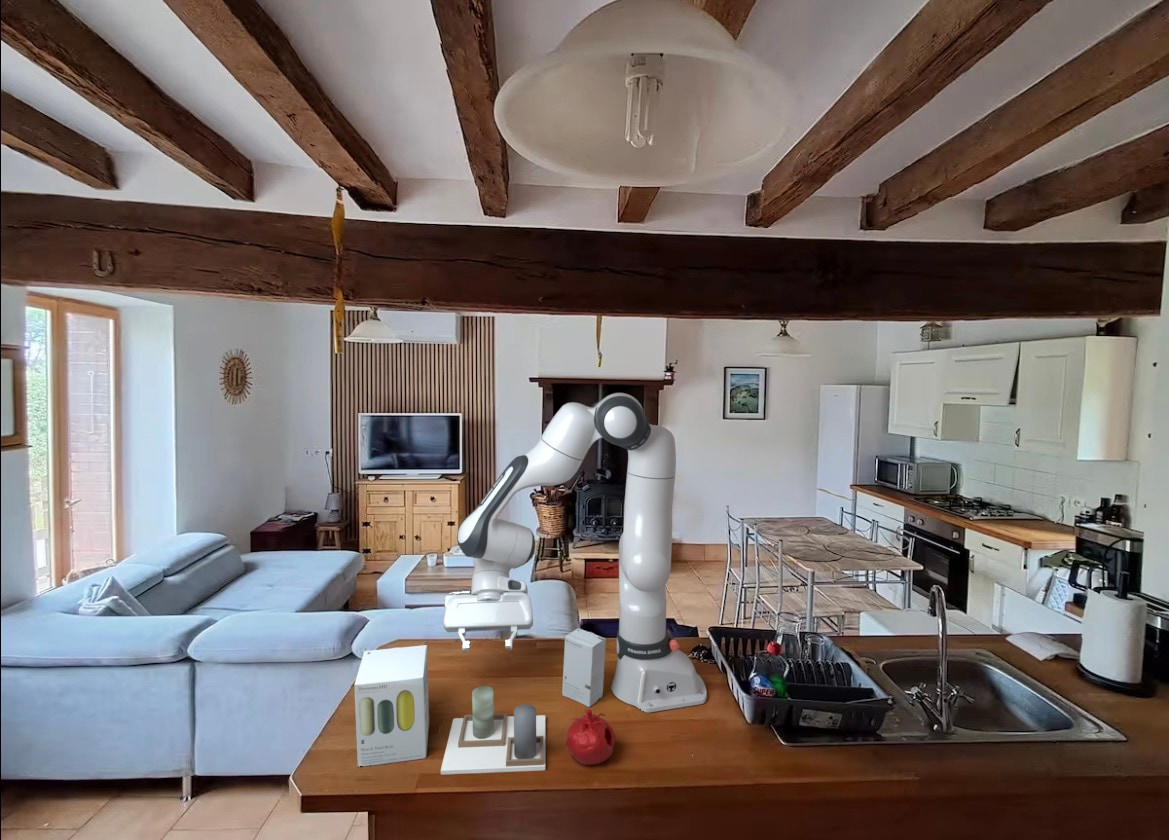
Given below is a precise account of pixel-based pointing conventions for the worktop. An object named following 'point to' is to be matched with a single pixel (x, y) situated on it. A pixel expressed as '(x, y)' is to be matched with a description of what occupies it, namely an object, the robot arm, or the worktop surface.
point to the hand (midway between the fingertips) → (487, 649)
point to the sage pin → (483, 712)
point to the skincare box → (583, 667)
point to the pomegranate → (590, 739)
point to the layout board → (497, 744)
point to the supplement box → (392, 705)
